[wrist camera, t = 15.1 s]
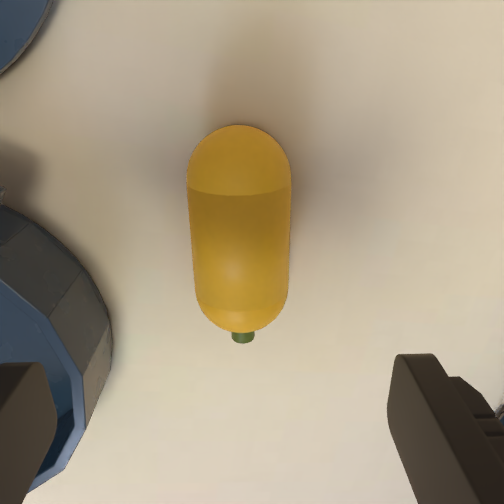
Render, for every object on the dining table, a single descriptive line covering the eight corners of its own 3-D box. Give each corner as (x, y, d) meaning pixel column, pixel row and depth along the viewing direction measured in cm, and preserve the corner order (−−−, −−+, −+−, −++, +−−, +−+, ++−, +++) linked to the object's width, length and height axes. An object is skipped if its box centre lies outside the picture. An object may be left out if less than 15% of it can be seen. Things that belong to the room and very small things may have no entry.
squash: (282, 311, 24) (291, 364, 20) (202, 313, 24) (195, 367, 20) (287, 117, 20) (299, 134, 15) (188, 118, 19) (174, 136, 15)
